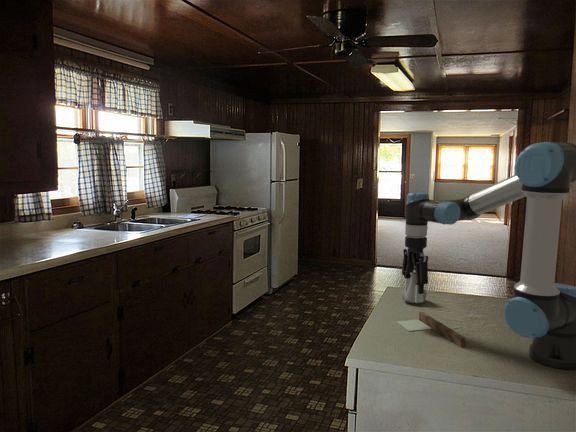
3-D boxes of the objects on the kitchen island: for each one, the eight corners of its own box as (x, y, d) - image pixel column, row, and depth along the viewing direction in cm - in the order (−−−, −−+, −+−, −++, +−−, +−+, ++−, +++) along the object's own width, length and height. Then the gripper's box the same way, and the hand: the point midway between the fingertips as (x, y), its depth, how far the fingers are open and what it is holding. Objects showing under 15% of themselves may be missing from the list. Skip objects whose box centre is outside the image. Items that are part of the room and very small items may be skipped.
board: (431, 329, 175) (431, 328, 175) (408, 331, 173) (408, 330, 173) (417, 320, 185) (417, 319, 185) (395, 322, 183) (395, 321, 183)
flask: (424, 303, 174) (425, 276, 173) (403, 302, 175) (404, 275, 174) (423, 297, 181) (424, 271, 180) (403, 296, 182) (404, 270, 181)
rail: (465, 346, 160) (465, 337, 159) (460, 347, 159) (461, 338, 159) (422, 319, 186) (422, 312, 185) (419, 320, 185) (419, 312, 185)
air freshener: (419, 306, 201) (420, 283, 200) (400, 303, 206) (400, 280, 204) (427, 300, 211) (428, 277, 209) (408, 297, 215) (409, 274, 214)
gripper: (440, 240, 166) (437, 306, 169) (411, 231, 186) (409, 290, 189) (420, 241, 165) (418, 308, 168) (393, 231, 184) (391, 291, 187)
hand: (413, 298), depth 178 cm, fingers closed on flask, 7 cm apart
